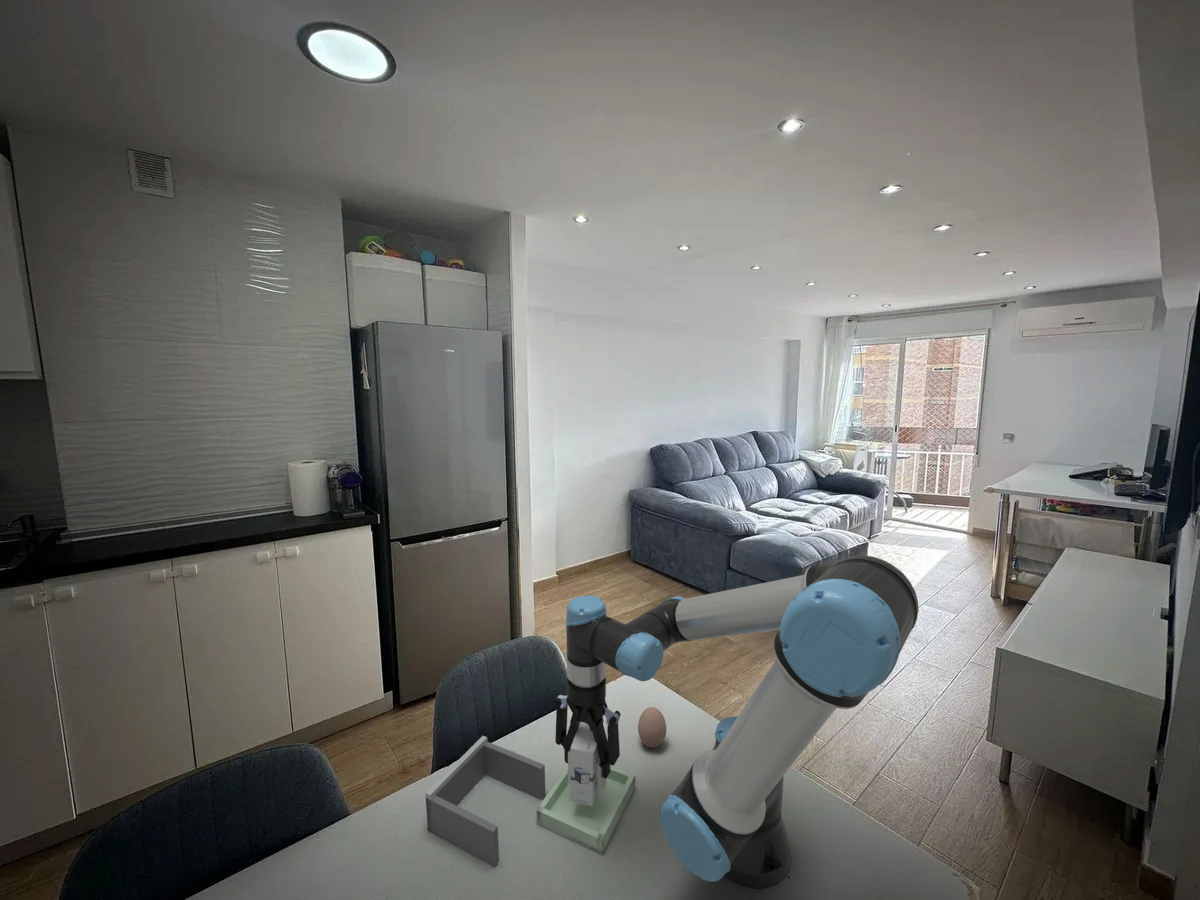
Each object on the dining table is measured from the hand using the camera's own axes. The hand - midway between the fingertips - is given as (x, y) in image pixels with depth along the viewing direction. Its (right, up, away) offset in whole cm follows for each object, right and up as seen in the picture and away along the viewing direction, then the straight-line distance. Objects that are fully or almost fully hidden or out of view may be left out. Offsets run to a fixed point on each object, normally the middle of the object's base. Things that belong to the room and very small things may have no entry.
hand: (587, 782), depth 95 cm
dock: (-20, -5, -1) cm, 20 cm away
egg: (+15, -3, +17) cm, 22 cm away
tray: (0, -5, +1) cm, 5 cm away
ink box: (0, -1, 0) cm, 1 cm away
